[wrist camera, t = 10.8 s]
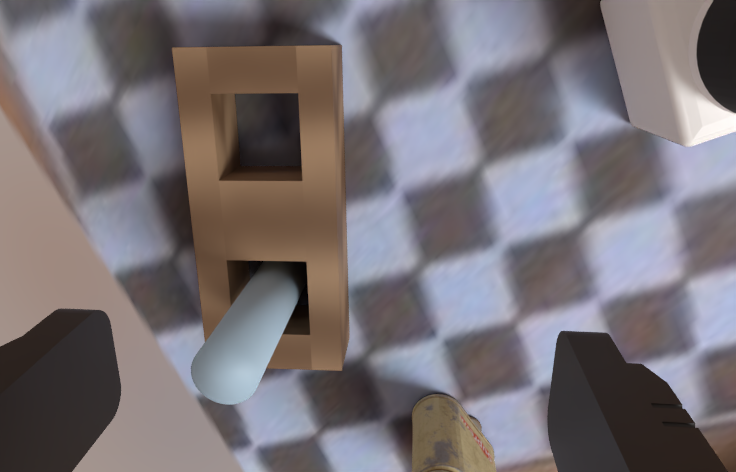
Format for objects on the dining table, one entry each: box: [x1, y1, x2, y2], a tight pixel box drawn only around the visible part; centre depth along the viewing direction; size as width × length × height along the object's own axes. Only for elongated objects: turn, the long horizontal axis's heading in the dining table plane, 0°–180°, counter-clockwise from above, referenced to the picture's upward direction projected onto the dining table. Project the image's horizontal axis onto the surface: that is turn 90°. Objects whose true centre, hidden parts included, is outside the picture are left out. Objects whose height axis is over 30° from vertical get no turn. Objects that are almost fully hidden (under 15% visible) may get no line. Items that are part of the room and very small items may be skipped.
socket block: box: [172, 45, 349, 371], centre depth 33 cm, size 18×8×4 cm, turn 1°
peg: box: [191, 261, 307, 404], centre depth 31 cm, size 3×3×12 cm
